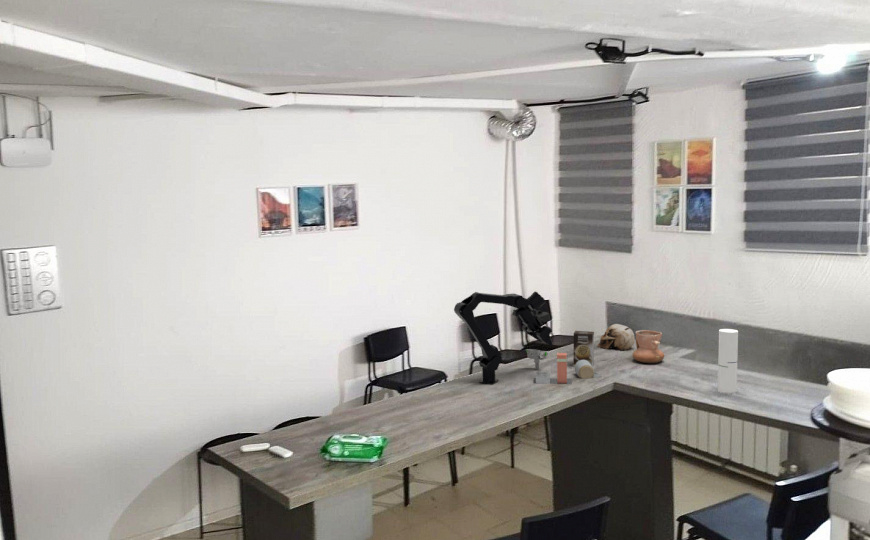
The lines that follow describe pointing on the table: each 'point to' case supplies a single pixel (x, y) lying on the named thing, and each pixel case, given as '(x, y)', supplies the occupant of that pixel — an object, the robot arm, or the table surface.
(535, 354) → the mechanical component
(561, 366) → the salmon pink rectangular block
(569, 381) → the stand base
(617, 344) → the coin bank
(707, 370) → the table surface
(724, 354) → the cylindrical container
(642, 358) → the ceramic jug
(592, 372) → the ceramic mug
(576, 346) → the coffee box
